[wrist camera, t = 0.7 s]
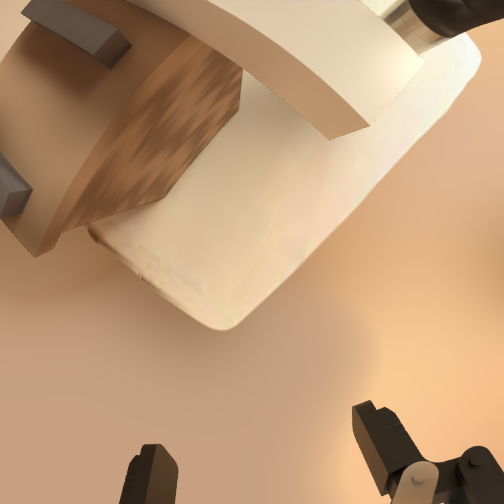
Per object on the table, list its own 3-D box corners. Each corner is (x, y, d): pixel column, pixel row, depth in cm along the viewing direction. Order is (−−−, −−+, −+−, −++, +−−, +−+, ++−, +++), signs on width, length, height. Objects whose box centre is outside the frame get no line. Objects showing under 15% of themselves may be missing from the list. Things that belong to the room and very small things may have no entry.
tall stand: (190, 71, 37) (128, -87, 5) (243, 109, 40) (273, -46, 7) (115, 162, 40) (-64, 156, 7) (164, 202, 43) (13, 268, 10)
